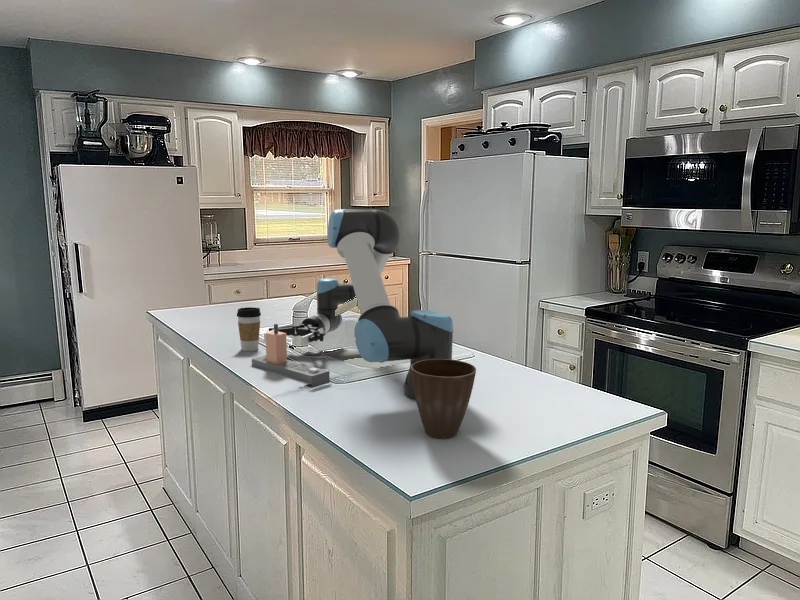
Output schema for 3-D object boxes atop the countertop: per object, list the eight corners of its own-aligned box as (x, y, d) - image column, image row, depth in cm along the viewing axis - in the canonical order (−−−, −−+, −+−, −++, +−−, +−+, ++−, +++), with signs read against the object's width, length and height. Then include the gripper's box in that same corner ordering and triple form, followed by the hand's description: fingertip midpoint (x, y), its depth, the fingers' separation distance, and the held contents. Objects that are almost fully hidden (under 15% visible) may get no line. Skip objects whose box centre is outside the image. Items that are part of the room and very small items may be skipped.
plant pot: (468, 421, 151) (471, 358, 148) (478, 445, 136) (481, 376, 134) (408, 421, 151) (409, 358, 148) (411, 445, 136) (413, 376, 133)
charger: (286, 367, 191) (286, 323, 188) (276, 370, 188) (275, 325, 185) (276, 364, 194) (275, 321, 191) (266, 367, 191) (265, 323, 188)
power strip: (329, 382, 181) (329, 368, 180) (311, 388, 176) (311, 373, 175) (269, 365, 199) (269, 352, 198) (251, 369, 193) (251, 356, 193)
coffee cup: (248, 353, 213) (246, 311, 211) (232, 349, 218) (231, 308, 216) (266, 348, 220) (265, 307, 217) (251, 345, 225) (250, 305, 222)
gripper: (347, 340, 210) (318, 354, 191) (283, 334, 219) (250, 347, 199) (347, 319, 209) (318, 331, 189) (283, 313, 217) (249, 324, 198)
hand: (283, 339), depth 194 cm, fingers open, 13 cm apart
